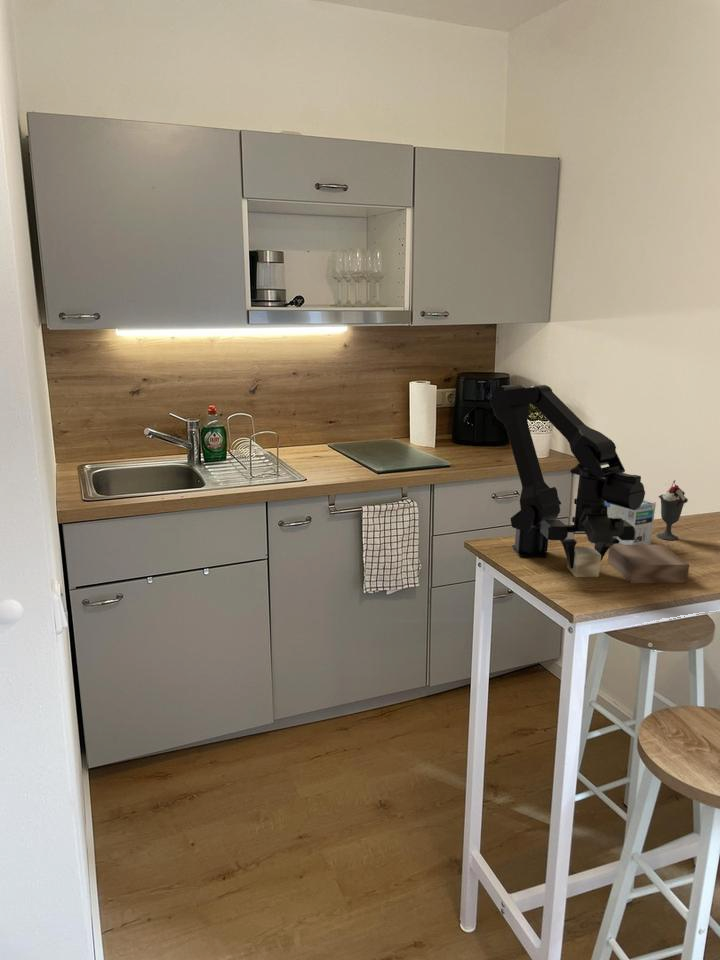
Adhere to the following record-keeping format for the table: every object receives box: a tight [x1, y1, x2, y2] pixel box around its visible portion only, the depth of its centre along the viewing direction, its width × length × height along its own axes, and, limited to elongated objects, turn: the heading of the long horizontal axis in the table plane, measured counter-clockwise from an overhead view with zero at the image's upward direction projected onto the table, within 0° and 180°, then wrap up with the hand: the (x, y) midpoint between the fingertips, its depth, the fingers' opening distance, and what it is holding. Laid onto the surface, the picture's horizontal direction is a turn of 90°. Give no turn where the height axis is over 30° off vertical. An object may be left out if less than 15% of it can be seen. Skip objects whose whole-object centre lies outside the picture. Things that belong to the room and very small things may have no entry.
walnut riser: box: [607, 544, 690, 584], centre depth 156 cm, size 12×12×4 cm
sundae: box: [656, 480, 689, 541], centre depth 177 cm, size 7×7×15 cm
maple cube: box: [567, 546, 602, 578], centre depth 155 cm, size 5×5×5 cm
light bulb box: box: [605, 498, 657, 545], centre depth 175 cm, size 11×7×11 cm, turn 30°
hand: (583, 567), depth 155 cm, fingers closed on maple cube, 5 cm apart
